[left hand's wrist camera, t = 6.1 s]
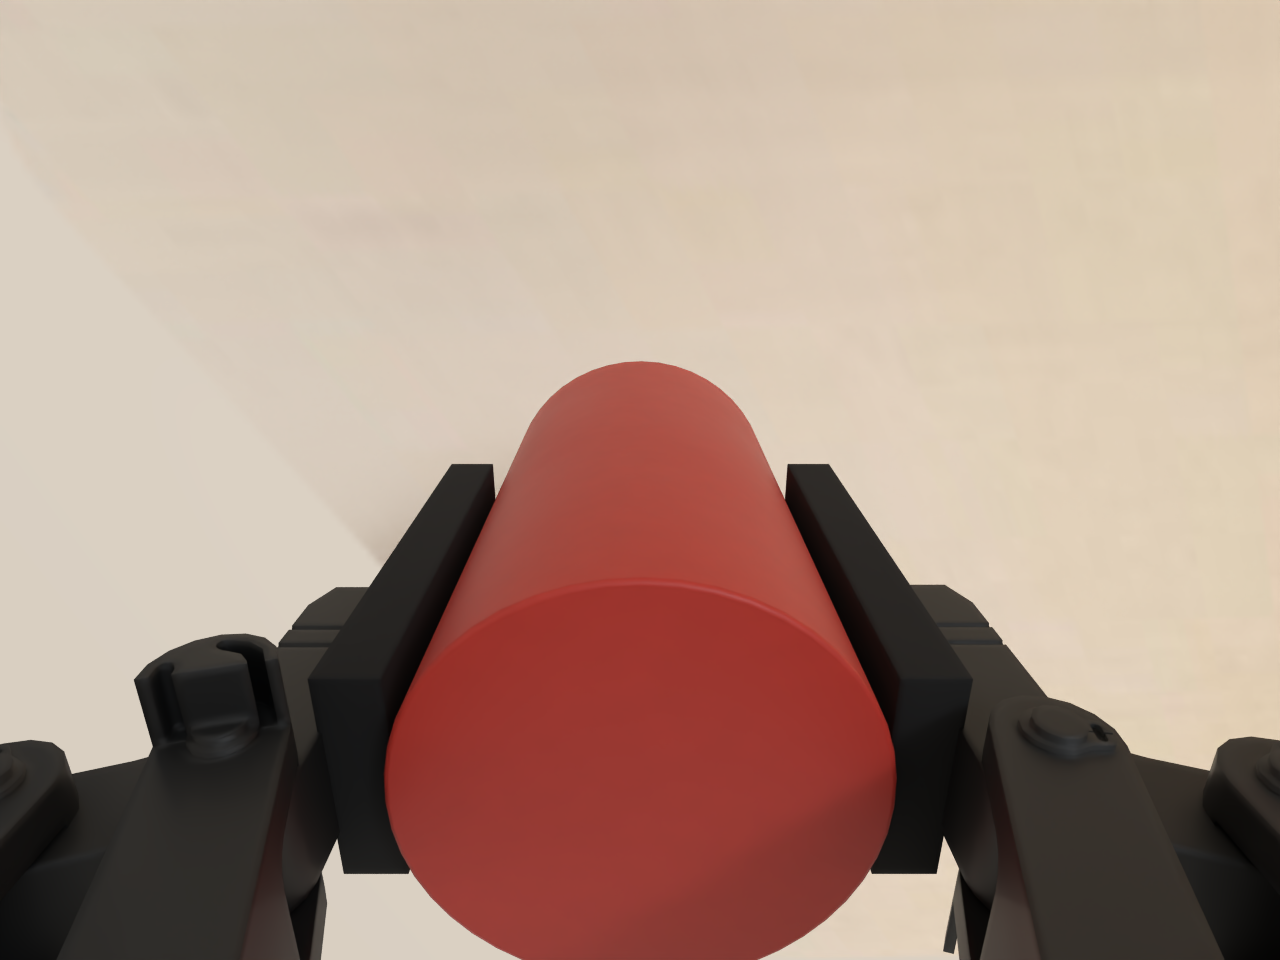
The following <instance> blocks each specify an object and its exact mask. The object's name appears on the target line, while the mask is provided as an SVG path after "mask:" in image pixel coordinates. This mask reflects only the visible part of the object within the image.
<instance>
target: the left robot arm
mask: <svg viewBox="0 0 1280 960" xmlns="http://www.w3.org/2000/svg"><path fill="white" fill-rule="evenodd" d="M785 501H786V503H787V506H788V508H789V510H790V512H791V514H792V516H793V519H794V521H795V523H796V525H797V527H798V529H799V532H800V534H801V536H802V538H803V540H804V543H805V545H806V547H807V549H808V551H809V553H810V556H811V558H812V560H813V562H814V564H815V566H816V569H817V571H818V573H819V575H820V577H821V580H822V582H823V584H824V586H825V588H826V590H827V593H828V595H829V597H830V599H831V601H832V603H833V606H834V608H835V610H836V612H837V614H838V617H839V619H840V621H841V623H842V625H843V627H844V630H845V632H846V634H847V636H848V638H849V640H850V643H851V645H852V647H853V649H854V651H855V654H856V656H857V658H858V660H859V662H860V664H861V667H862V669H863V671H864V673H865V675H866V678H867V680H868V682H869V684H870V686H871V688H872V691H873V693H874V695H875V697H876V699H877V702H878V704H879V706H880V708H881V711H882V713H883V715H884V717H885V720H886V722H887V724H888V728H889V731H890V735H891V739H892V743H893V747H894V751H895V762H896V774H897V782H896V794H895V805H894V810H893V814H892V818H891V822H890V826H889V830H888V834H887V836H886V839H885V841H884V843H883V845H882V848H881V850H880V852H879V855H878V857H877V859H876V861H875V862H874V864H873V865H872V867H871V872H872V874H937V869H938V863H939V858H940V853H941V847H942V842H943V837H945V839H946V841H947V843H948V846H949V848H950V850H951V852H952V854H953V856H954V858H955V861H956V863H957V865H958V867H959V871H958V876H957V881H956V886H955V891H954V896H953V901H952V906H951V911H950V916H949V921H948V926H947V931H946V936H945V943H944V949H943V951H944V952H948V953H952V954H954V950H955V945H956V940H957V942H958V951H959V959H960V960H1280V741H1279V740H1272V739H1265V738H1257V737H1244V738H1236V739H1229V740H1228V741H1227V742H1225V743H1224V744H1223V745H1221V746H1220V747H1219V748H1218V749H1217V752H1216V755H1215V758H1214V761H1213V764H1212V766H1211V769H1210V771H1208V770H1203V769H1198V768H1193V767H1189V766H1184V765H1179V764H1174V763H1169V762H1165V761H1160V760H1155V759H1150V758H1146V757H1142V756H1139V755H1135V754H1131V753H1130V751H1129V749H1128V746H1127V745H1126V743H1125V742H1124V741H1123V739H1122V738H1121V737H1120V736H1119V734H1118V733H1117V732H1116V730H1115V729H1114V728H1112V727H1111V726H1110V725H1108V724H1107V723H1106V722H1104V721H1103V720H1102V719H1100V718H1099V717H1097V716H1096V715H1095V714H1093V713H1090V712H1088V711H1086V710H1084V709H1082V708H1080V707H1077V706H1075V705H1073V704H1071V703H1068V702H1064V701H1060V700H1056V699H1052V698H1048V697H1047V696H1046V695H1045V693H1044V692H1043V691H1042V689H1041V688H1040V687H1039V686H1038V684H1037V683H1036V682H1035V681H1034V679H1033V678H1032V677H1031V676H1030V674H1029V673H1028V672H1027V671H1026V669H1025V668H1024V667H1023V666H1022V664H1021V663H1020V662H1019V660H1018V659H1017V658H1016V657H1015V655H1014V654H1013V653H1012V652H1011V650H1010V649H1009V648H1008V647H1007V645H1003V643H1002V639H1001V638H1000V637H999V635H998V634H997V633H996V632H995V630H994V629H993V628H992V627H989V623H988V621H987V620H986V619H985V618H984V616H983V615H982V614H981V613H980V611H979V610H978V609H977V608H976V606H975V605H974V604H973V603H972V602H971V601H969V600H968V599H966V598H965V597H963V596H961V595H960V594H958V593H957V592H955V591H954V590H952V589H950V588H949V587H947V586H946V585H910V584H909V583H908V581H907V580H906V578H905V577H904V575H903V574H902V572H901V571H900V569H899V568H898V566H897V565H896V563H895V562H894V560H893V559H892V558H891V556H890V555H889V553H888V552H887V550H886V549H885V547H884V546H883V544H882V543H881V541H880V540H879V538H878V537H877V535H876V534H875V532H874V531H873V529H872V528H871V526H870V525H869V523H868V522H867V520H866V519H865V517H864V516H863V514H862V513H861V511H860V510H859V508H858V507H857V505H856V504H855V502H854V501H853V500H852V498H851V497H850V495H849V494H848V492H847V491H846V489H845V488H844V486H843V485H842V483H841V482H840V480H839V479H838V477H837V476H836V474H835V473H834V471H833V470H832V468H831V467H830V465H829V464H788V467H787V480H786V494H785ZM494 502H495V487H494V474H493V464H452V465H451V466H450V468H449V469H448V471H447V472H446V473H445V475H444V476H443V478H442V479H441V481H440V482H439V484H438V485H437V487H436V488H435V490H434V491H433V493H432V494H431V496H430V497H429V499H428V500H427V502H426V503H425V505H424V506H423V508H422V509H421V511H420V512H419V514H418V515H417V517H416V518H415V520H414V521H413V523H412V524H411V526H410V527H409V529H408V530H407V531H406V533H405V534H404V536H403V537H402V539H401V540H400V542H399V543H398V545H397V546H396V548H395V549H394V551H393V552H392V554H391V555H390V557H389V558H388V560H387V561H386V563H385V564H384V566H383V567H382V569H381V570H380V572H379V573H378V575H377V576H376V578H375V579H374V581H373V582H372V584H371V585H370V587H336V588H334V589H333V590H331V591H330V592H328V593H327V594H325V595H323V596H322V597H320V598H319V599H317V600H316V601H314V602H312V603H311V604H309V605H308V606H307V608H306V609H305V610H304V611H303V613H302V614H301V615H300V616H299V618H298V619H297V620H296V622H295V623H294V624H293V625H292V630H288V632H287V633H286V634H285V635H284V637H283V638H282V639H281V641H280V642H279V646H278V647H276V646H275V645H274V644H272V643H271V642H270V641H269V640H267V639H266V638H264V637H259V636H254V635H250V634H227V635H218V636H213V637H209V638H205V639H200V640H196V641H193V642H190V643H188V644H185V645H183V646H180V647H178V648H175V649H173V650H170V651H168V652H167V653H165V654H163V655H162V656H160V657H159V658H157V659H155V660H154V661H152V662H151V663H149V664H148V665H147V666H146V667H145V668H144V669H143V670H142V671H141V672H140V673H139V675H138V676H137V677H136V678H135V679H134V682H135V686H136V689H137V693H138V696H139V700H140V703H141V706H142V710H143V714H144V717H145V721H146V724H147V728H148V731H149V735H150V738H151V742H152V745H153V748H152V750H151V752H150V754H149V757H147V758H143V759H140V760H136V761H132V762H127V763H122V764H118V765H113V766H108V767H103V768H98V769H94V770H89V771H84V772H79V773H75V774H72V773H71V770H70V767H69V765H68V762H67V759H66V756H65V753H64V751H63V750H61V749H60V748H59V747H57V746H56V745H55V744H53V743H51V742H43V741H35V740H27V741H20V742H12V743H5V744H0V960H321V953H322V943H323V935H324V926H325V917H326V908H327V900H326V893H325V886H324V881H323V876H322V870H323V868H324V866H325V863H326V861H327V859H328V857H329V855H330V853H331V850H332V848H333V846H334V844H335V842H336V840H337V839H338V845H339V850H340V855H341V861H342V866H343V871H344V874H408V873H409V871H410V868H409V866H408V864H407V863H406V861H405V859H404V858H403V856H402V854H401V852H400V849H399V847H398V844H397V842H396V839H395V837H394V834H393V832H392V829H391V825H390V820H389V816H388V811H387V807H386V802H385V787H384V767H385V758H386V749H387V744H388V741H389V737H390V734H391V730H392V727H393V724H394V720H395V718H396V716H397V714H398V711H399V709H400V707H401V705H402V703H403V700H404V698H405V696H406V694H407V692H408V689H409V687H410V685H411V683H412V681H413V679H414V676H415V674H416V672H417V670H418V668H419V665H420V663H421V661H422V659H423V657H424V655H425V652H426V650H427V648H428V646H429V644H430V641H431V639H432V637H433V635H434V633H435V631H436V628H437V626H438V624H439V622H440V620H441V617H442V615H443V613H444V611H445V609H446V607H447V604H448V602H449V600H450V598H451V596H452V593H453V591H454V589H455V587H456V585H457V583H458V580H459V578H460V576H461V574H462V572H463V569H464V567H465V565H466V563H467V561H468V559H469V556H470V554H471V552H472V550H473V548H474V545H475V543H476V541H477V539H478V537H479V535H480V532H481V530H482V528H483V526H484V524H485V521H486V519H487V517H488V515H489V513H490V510H491V508H492V506H493V504H494Z"/></svg>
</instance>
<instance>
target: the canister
mask: <svg viewBox="0 0 1280 960" xmlns="http://www.w3.org/2000/svg"><path fill="white" fill-rule="evenodd" d="M896 782H897V774H896V762H895V751H894V747H893V743H892V739H891V735H890V731H889V728H888V724H887V722H886V720H885V717H884V715H883V713H882V711H881V708H880V706H879V704H878V702H877V699H876V697H875V695H874V693H873V691H872V688H871V686H870V684H869V682H868V680H867V678H866V675H865V673H864V671H863V669H862V667H861V664H860V662H859V660H858V658H857V656H856V654H855V651H854V649H853V647H852V645H851V643H850V640H849V638H848V636H847V634H846V632H845V630H844V627H843V625H842V623H841V621H840V619H839V617H838V614H837V612H836V610H835V608H834V606H833V603H832V601H831V599H830V597H829V595H828V593H827V590H826V588H825V586H824V584H823V582H822V580H821V577H820V575H819V573H818V571H817V569H816V566H815V564H814V562H813V560H812V558H811V556H810V553H809V551H808V549H807V547H806V545H805V543H804V540H803V538H802V536H801V534H800V532H799V529H798V527H797V525H796V523H795V521H794V519H793V516H792V514H791V512H790V510H789V508H788V506H787V503H786V501H785V499H784V497H783V495H782V492H781V490H780V488H779V486H778V484H777V482H776V479H775V477H774V475H773V473H772V471H771V469H770V466H769V464H768V462H767V460H766V458H765V455H764V453H763V451H762V449H761V447H760V445H759V442H758V440H757V438H756V436H755V434H754V432H753V429H752V427H751V425H750V423H749V422H748V420H747V419H746V417H745V415H744V414H743V412H742V411H741V410H740V409H739V407H738V406H737V405H736V404H735V403H734V401H733V400H732V399H731V398H730V397H729V396H727V395H726V394H725V393H724V392H723V391H722V390H721V389H720V388H718V387H717V386H715V385H714V384H712V383H711V382H709V381H708V380H707V379H705V378H703V377H701V376H699V375H697V374H695V373H693V372H691V371H688V370H685V369H682V368H679V367H676V366H672V365H667V364H662V363H656V362H643V361H640V362H624V363H618V364H613V365H608V366H604V367H601V368H598V369H595V370H592V371H590V372H588V373H586V374H584V375H581V376H579V377H577V378H576V379H574V380H572V381H571V382H569V383H568V384H566V385H565V386H563V387H562V388H561V389H560V390H558V391H557V392H556V393H555V394H554V395H553V396H552V397H550V398H549V400H548V401H547V402H546V403H545V404H544V405H543V406H542V408H541V409H540V410H539V411H538V413H537V414H536V416H535V417H534V419H533V420H532V422H531V424H530V426H529V428H528V430H527V432H526V434H525V436H524V438H523V441H522V443H521V445H520V447H519V449H518V452H517V454H516V456H515V458H514V460H513V462H512V465H511V467H510V469H509V471H508V473H507V476H506V478H505V480H504V482H503V484H502V486H501V489H500V491H499V493H498V495H497V497H496V500H495V502H494V504H493V506H492V508H491V510H490V513H489V515H488V517H487V519H486V521H485V524H484V526H483V528H482V530H481V532H480V535H479V537H478V539H477V541H476V543H475V545H474V548H473V550H472V552H471V554H470V556H469V559H468V561H467V563H466V565H465V567H464V569H463V572H462V574H461V576H460V578H459V580H458V583H457V585H456V587H455V589H454V591H453V593H452V596H451V598H450V600H449V602H448V604H447V607H446V609H445V611H444V613H443V615H442V617H441V620H440V622H439V624H438V626H437V628H436V631H435V633H434V635H433V637H432V639H431V641H430V644H429V646H428V648H427V650H426V652H425V655H424V657H423V659H422V661H421V663H420V665H419V668H418V670H417V672H416V674H415V676H414V679H413V681H412V683H411V685H410V687H409V689H408V692H407V694H406V696H405V698H404V700H403V703H402V705H401V707H400V709H399V711H398V714H397V716H396V718H395V720H394V724H393V727H392V730H391V734H390V737H389V741H388V744H387V749H386V758H385V767H384V787H385V802H386V807H387V811H388V816H389V820H390V825H391V829H392V832H393V834H394V837H395V839H396V842H397V844H398V847H399V849H400V852H401V854H402V856H403V858H404V859H405V861H406V863H407V864H408V866H409V868H410V870H411V871H412V873H413V875H414V876H415V878H416V879H417V880H418V882H419V883H420V884H421V885H422V887H423V888H424V889H425V890H426V892H427V893H428V894H429V896H430V897H431V898H432V899H433V900H434V901H435V902H436V903H437V904H438V905H439V906H440V907H441V908H442V909H443V910H444V911H445V912H446V913H447V914H448V915H449V916H451V917H452V918H453V919H454V920H456V921H457V922H458V923H460V924H461V925H462V926H464V927H465V928H466V929H467V930H469V931H470V932H471V933H473V934H474V935H476V936H478V937H479V938H481V939H483V940H484V941H486V942H488V943H489V944H491V945H493V946H494V947H496V948H498V949H500V950H502V951H504V952H506V953H509V954H511V955H513V956H515V957H517V958H519V959H521V960H758V959H761V958H763V957H765V956H768V955H770V954H772V953H774V952H777V951H779V950H781V949H782V948H784V947H786V946H788V945H789V944H791V943H793V942H795V941H796V940H798V939H800V938H801V937H803V936H805V935H806V934H807V933H809V932H810V931H811V930H813V929H814V928H816V927H817V926H818V925H820V924H821V923H822V922H824V921H825V920H826V919H827V918H829V917H830V916H831V915H832V914H833V913H834V912H835V911H836V910H837V909H838V908H839V907H840V906H841V905H842V904H844V903H845V902H846V901H847V899H848V898H849V897H850V896H851V895H852V893H853V892H854V891H855V890H856V889H857V887H858V886H859V885H860V884H861V882H862V881H863V880H864V878H865V877H866V875H867V873H868V872H869V870H870V869H871V867H872V865H873V864H874V862H875V861H876V859H877V857H878V855H879V852H880V850H881V848H882V845H883V843H884V841H885V839H886V836H887V834H888V830H889V826H890V822H891V818H892V814H893V810H894V805H895V794H896Z"/></svg>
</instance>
